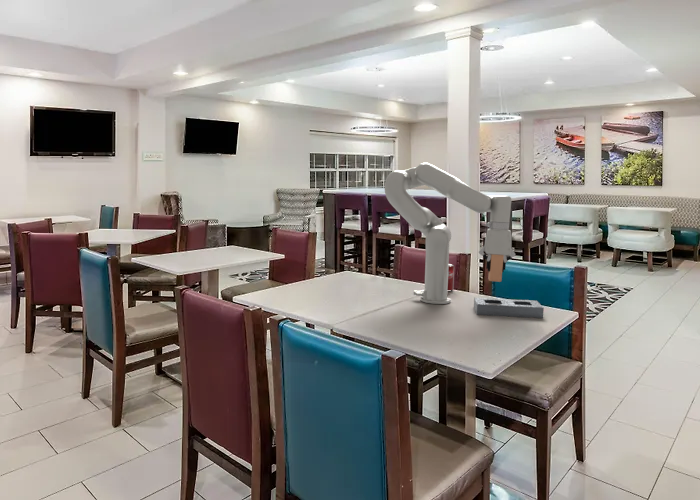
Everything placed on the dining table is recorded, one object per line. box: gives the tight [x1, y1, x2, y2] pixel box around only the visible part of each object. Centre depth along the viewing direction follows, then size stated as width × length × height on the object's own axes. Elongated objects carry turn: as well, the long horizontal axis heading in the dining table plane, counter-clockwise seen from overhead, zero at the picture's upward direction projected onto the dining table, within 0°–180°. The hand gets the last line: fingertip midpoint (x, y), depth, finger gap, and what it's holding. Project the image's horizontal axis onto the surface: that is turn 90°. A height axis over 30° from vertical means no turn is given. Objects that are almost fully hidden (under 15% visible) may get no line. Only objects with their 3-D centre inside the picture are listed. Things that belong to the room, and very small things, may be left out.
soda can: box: [448, 263, 455, 291], centre depth 236 cm, size 7×7×12 cm
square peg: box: [487, 254, 504, 283], centre depth 205 cm, size 5×5×12 cm
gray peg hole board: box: [473, 297, 545, 319], centre depth 195 cm, size 24×12×4 cm, turn 82°
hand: (495, 270), depth 205 cm, fingers closed on square peg, 4 cm apart
